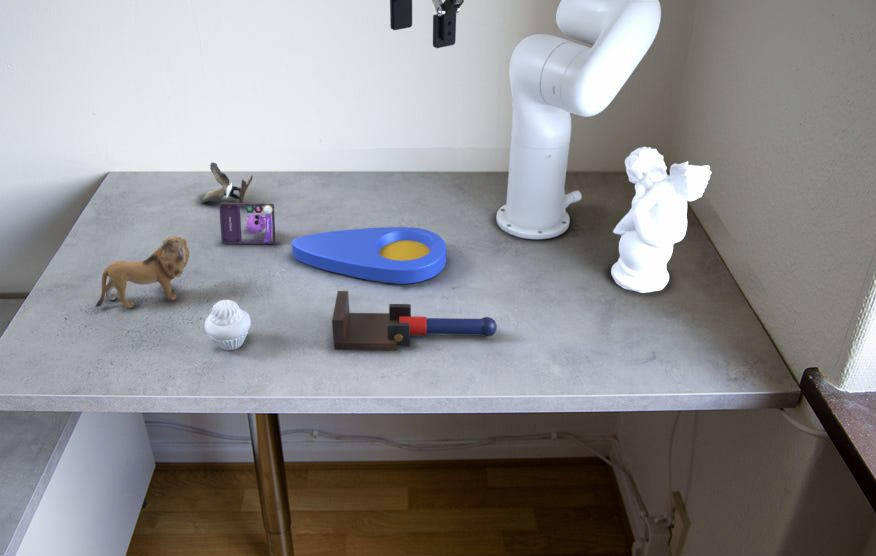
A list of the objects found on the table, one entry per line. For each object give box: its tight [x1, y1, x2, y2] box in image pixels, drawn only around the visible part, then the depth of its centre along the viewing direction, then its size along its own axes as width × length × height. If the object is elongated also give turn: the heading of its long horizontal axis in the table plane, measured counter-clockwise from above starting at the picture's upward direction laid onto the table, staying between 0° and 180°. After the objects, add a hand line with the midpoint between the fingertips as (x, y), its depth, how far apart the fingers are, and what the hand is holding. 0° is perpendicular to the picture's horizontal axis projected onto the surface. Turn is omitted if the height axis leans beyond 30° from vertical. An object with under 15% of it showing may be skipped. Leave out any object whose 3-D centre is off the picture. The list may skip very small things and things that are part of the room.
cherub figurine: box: [610, 146, 713, 294], centre depth 113 cm, size 12×12×22 cm
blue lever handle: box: [399, 316, 498, 337], centre depth 107 cm, size 14×3×3 cm, turn 88°
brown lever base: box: [331, 290, 412, 351], centre depth 107 cm, size 10×7×5 cm
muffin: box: [204, 299, 252, 351], centre depth 105 cm, size 6×6×7 cm
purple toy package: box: [218, 202, 277, 245], centre depth 129 cm, size 7×5×9 cm
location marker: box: [291, 226, 447, 285], centre depth 123 cm, size 13×3×25 cm
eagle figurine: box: [199, 162, 254, 204], centre depth 139 cm, size 8×7×9 cm
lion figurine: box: [95, 235, 190, 309], centre depth 113 cm, size 15×5×9 cm, turn 116°
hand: (422, 36), depth 101 cm, fingers open, 9 cm apart
